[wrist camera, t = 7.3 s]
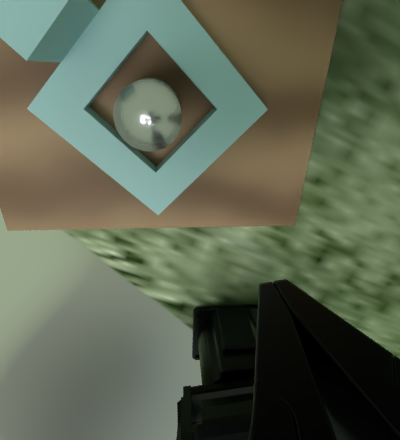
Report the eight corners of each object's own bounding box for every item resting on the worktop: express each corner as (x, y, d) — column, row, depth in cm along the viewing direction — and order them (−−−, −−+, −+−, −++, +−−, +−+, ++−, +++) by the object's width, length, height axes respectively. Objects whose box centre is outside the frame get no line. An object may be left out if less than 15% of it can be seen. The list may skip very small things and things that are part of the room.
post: (179, 133, 17) (181, 151, 14) (128, 132, 17) (116, 151, 13) (179, 77, 16) (182, 81, 12) (123, 76, 16) (109, 78, 12)
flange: (261, 106, 17) (294, 120, 13) (158, 207, 19) (155, 248, 15) (36, -174, 11) (-50, -328, 7) (-70, 18, 14) (-184, -6, 9)
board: (289, 217, 22) (295, 225, 21) (16, 221, 20) (7, 230, 19) (354, -114, 14) (370, -129, 13) (-100, -160, 12) (-126, -182, 11)
